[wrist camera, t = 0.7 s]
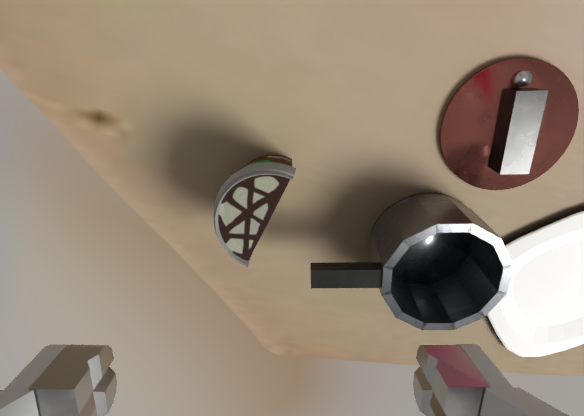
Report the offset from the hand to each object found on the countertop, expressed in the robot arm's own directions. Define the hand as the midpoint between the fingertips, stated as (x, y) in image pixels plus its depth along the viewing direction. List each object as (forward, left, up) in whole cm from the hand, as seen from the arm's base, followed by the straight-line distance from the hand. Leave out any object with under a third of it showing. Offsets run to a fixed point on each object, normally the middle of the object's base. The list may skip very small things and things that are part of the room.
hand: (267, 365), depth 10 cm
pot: (+17, +12, -37) cm, 42 cm away
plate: (+24, +36, -38) cm, 57 cm away
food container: (+8, -6, -37) cm, 38 cm away
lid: (+2, +24, -37) cm, 45 cm away
